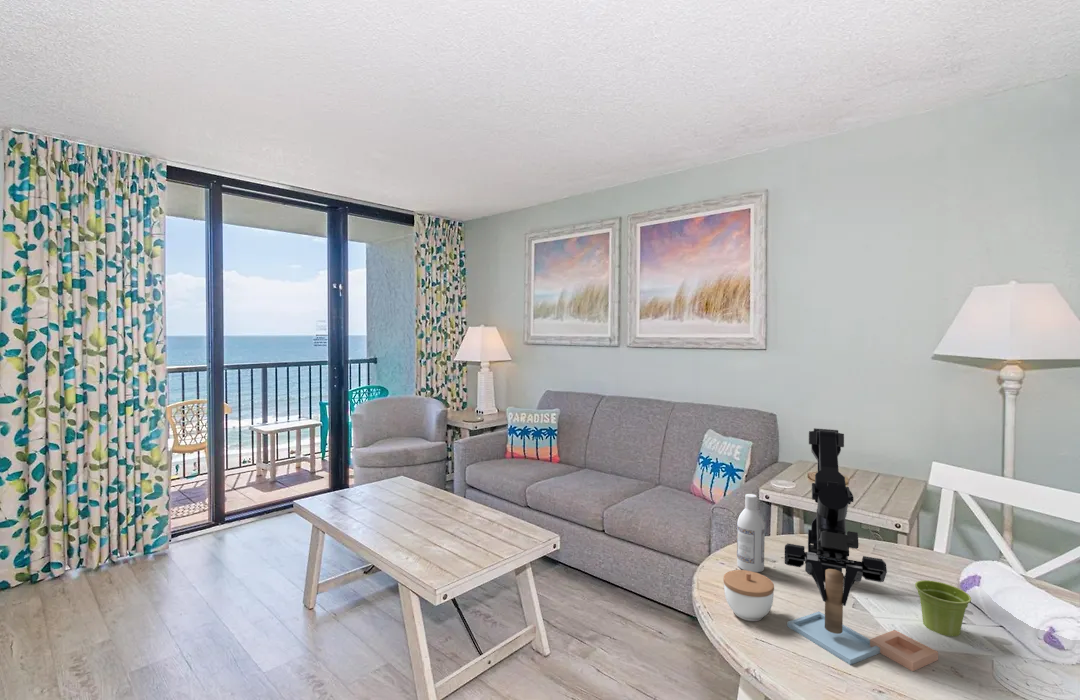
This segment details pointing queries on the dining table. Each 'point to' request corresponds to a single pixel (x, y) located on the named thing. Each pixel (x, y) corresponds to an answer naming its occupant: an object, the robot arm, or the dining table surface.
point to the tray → (834, 639)
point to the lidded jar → (748, 594)
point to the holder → (904, 650)
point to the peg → (834, 601)
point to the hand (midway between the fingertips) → (834, 603)
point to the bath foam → (750, 537)
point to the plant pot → (942, 606)
